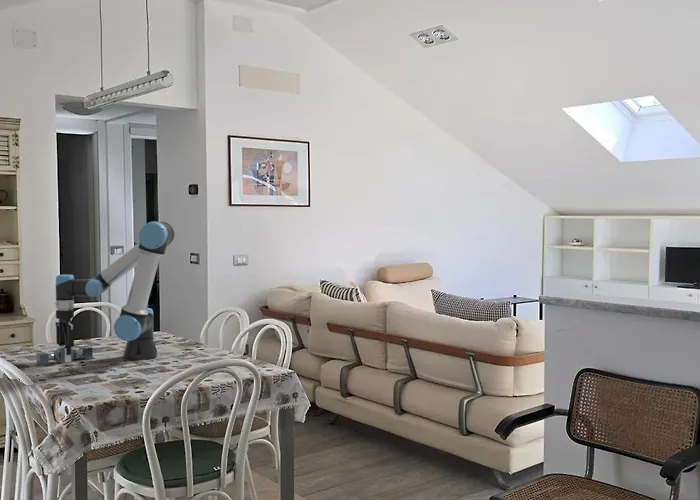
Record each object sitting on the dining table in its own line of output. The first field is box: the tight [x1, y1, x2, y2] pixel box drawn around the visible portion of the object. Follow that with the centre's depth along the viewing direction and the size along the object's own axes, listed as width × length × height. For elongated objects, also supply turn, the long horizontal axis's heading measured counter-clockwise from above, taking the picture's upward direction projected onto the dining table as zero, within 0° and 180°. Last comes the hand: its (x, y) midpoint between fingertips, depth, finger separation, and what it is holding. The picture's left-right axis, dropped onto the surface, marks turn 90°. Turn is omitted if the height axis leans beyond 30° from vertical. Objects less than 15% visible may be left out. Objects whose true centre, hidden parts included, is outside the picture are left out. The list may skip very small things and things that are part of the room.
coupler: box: [56, 347, 74, 364], centre depth 322 cm, size 6×4×6 cm
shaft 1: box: [35, 351, 58, 367], centre depth 316 cm, size 8×5×5 cm, turn 130°
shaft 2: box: [73, 346, 94, 360], centre depth 328 cm, size 8×5×5 cm, turn 146°
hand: (65, 361), depth 322 cm, fingers open, 4 cm apart
